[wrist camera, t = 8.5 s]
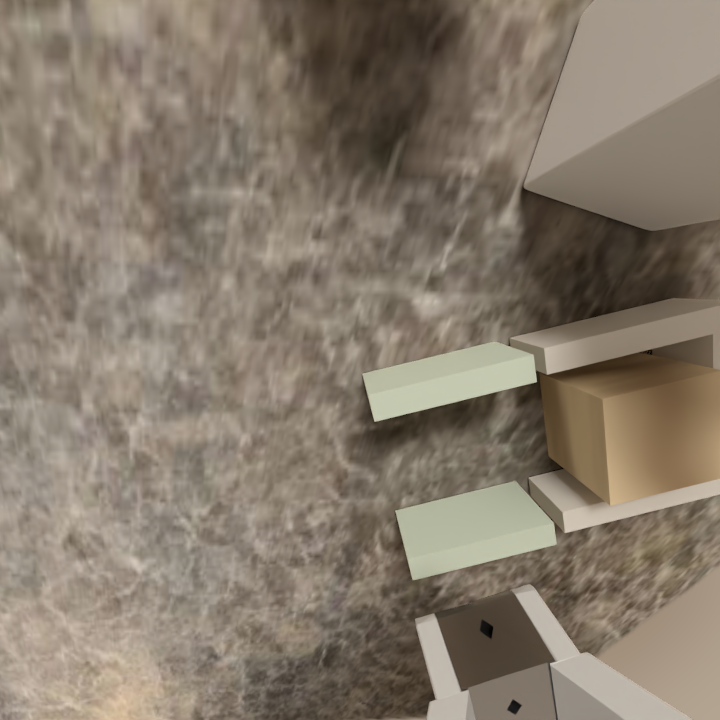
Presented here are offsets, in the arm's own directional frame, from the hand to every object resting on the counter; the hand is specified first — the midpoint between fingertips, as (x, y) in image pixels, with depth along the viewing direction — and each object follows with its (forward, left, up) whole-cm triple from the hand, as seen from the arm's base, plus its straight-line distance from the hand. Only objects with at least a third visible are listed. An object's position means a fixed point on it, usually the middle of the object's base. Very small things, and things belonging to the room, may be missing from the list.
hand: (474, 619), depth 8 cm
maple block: (+10, -1, -10) cm, 15 cm away
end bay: (+10, -1, -10) cm, 14 cm away
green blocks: (+2, -1, -10) cm, 10 cm away
